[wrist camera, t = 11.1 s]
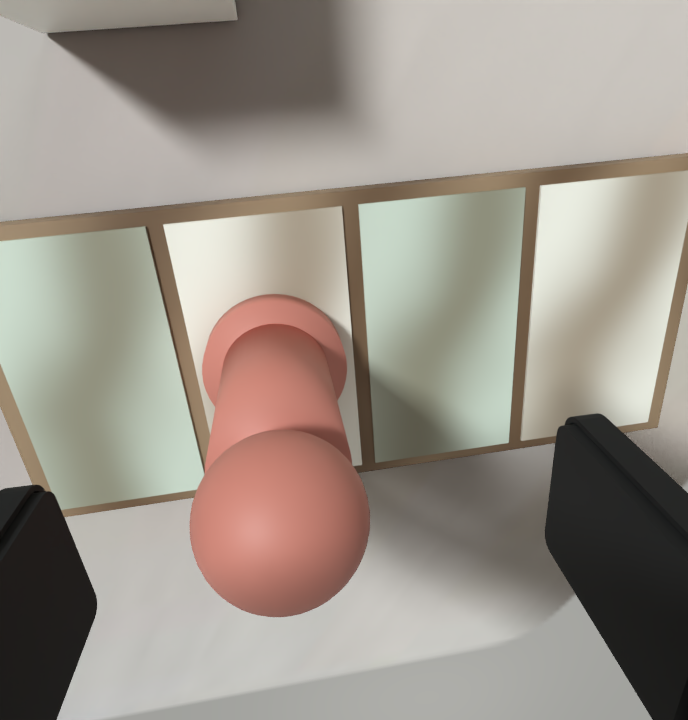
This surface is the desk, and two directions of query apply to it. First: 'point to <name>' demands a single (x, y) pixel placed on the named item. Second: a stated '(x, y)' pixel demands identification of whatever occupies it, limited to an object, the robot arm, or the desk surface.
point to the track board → (346, 318)
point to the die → (113, 13)
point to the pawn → (277, 462)
